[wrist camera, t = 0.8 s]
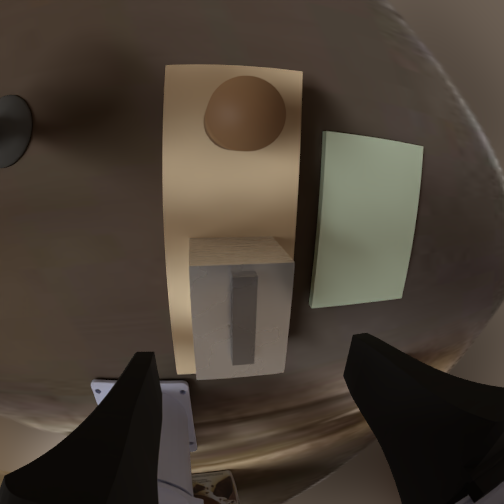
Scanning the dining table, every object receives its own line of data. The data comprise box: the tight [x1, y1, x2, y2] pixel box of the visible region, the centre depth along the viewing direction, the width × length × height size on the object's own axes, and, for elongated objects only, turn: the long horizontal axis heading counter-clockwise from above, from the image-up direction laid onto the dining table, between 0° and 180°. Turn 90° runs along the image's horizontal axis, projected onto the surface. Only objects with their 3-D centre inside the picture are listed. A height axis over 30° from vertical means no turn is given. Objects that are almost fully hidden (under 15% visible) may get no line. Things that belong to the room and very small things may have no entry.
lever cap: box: [189, 236, 295, 380], centre depth 15 cm, size 6×4×5 cm
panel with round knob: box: [163, 65, 302, 374], centre depth 16 cm, size 18×7×7 cm, turn 178°
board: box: [309, 131, 423, 308], centre depth 21 cm, size 12×8×1 cm, turn 178°
